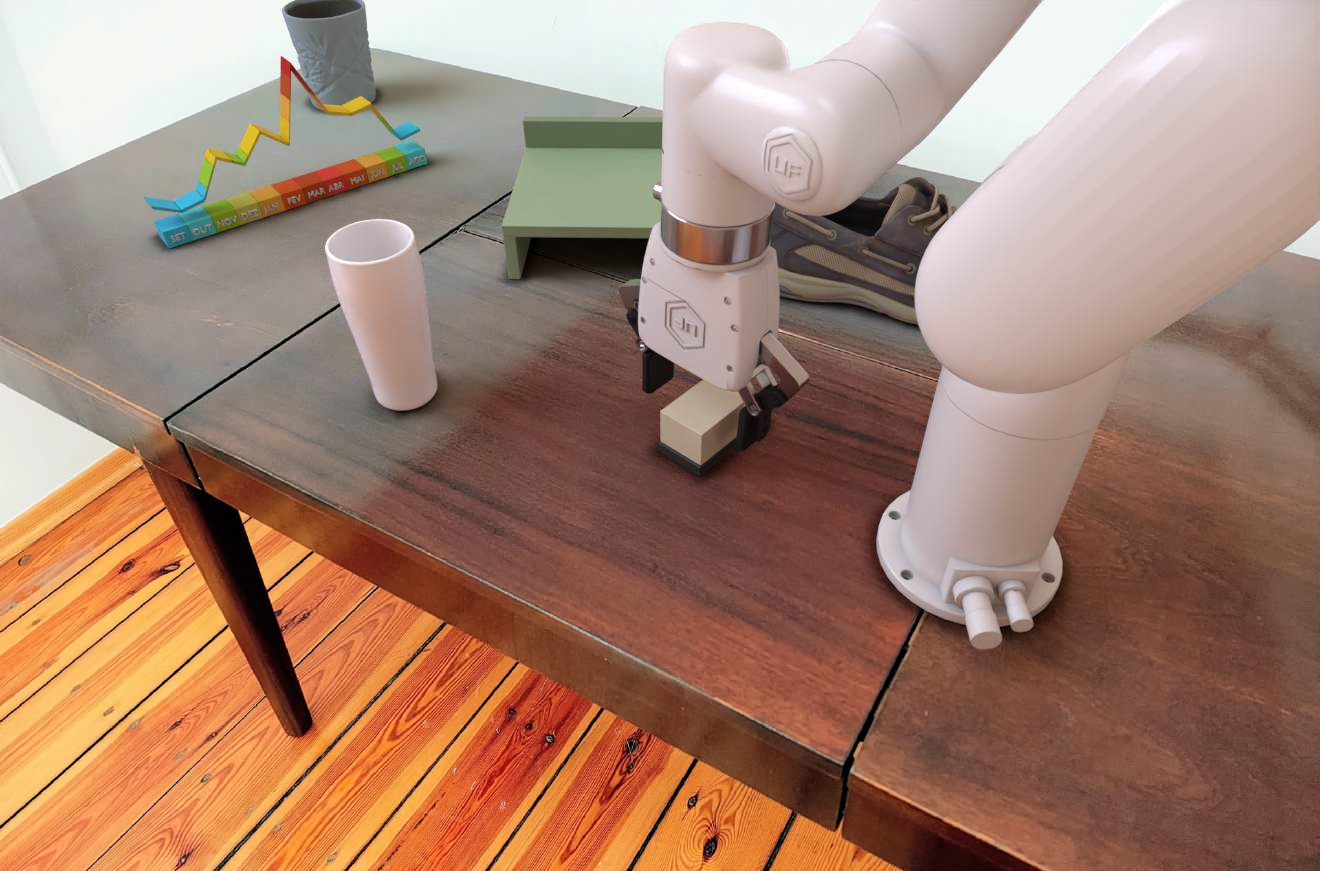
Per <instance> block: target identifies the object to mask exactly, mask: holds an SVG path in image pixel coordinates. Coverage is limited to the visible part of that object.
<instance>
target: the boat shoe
mask: <svg viewBox="0 0 1320 871" xmlns="http://www.w3.org/2000/svg"><path fill="white" fill-rule="evenodd" d="M957 210H958V208H957V206H955V205H952V204H951V201H950V198H949V197H948V195H947V194H945V193H940V189H939V187H938V185H937V184H935V183H932V182H929V180H927V179H926V178H925V177H922V176H915V177H912V178H909V179H907V180H905V181H903V182H902V183H900V184H899V185H897V186H896V187H894V188H893V189H891V190H889V192H888V193H887V194H886V195H885V196H884V197H881V198H876V197H875V198H874V197H868V196H863V195H861V196H860V197H859V198H858V199H856V200H855V201H854V202H853V203H851V204H850V205H848V206H847V207H845V208H844V209H842V210H840V211H837V212H835V213H832V214H829V215H823V216H810V215H803V214H800V213H797V212H794V211H791V210H789V209H787V208H785V207H783V206H781V205H779V204H778V203H776V202H775V207H774V216H773V224H772V233H771V241H770V246H771V247H772V248H774V249H775V250H776V255H777V263H778V273H779V293H780V297H782V298H787V299H792V300H797V301H804V302H813V303H841V304H849V305H853V306H858V307H862V308H866V309H868V310H870V311H871V310H872V311H874V312H877V313H880V314H885V315H888V316H889V317H891V318H892V319H895V320H899V321H901V322H904V323H907V324H914V325H917V326H919V324H918V321H917V317H916V310H915V284H916V277H917V273H918V269H919V266H920V263H921V260H922V257H923V255H924V253H925V251H926V249H927V247H928V245H929V243H930V242H931V240H932V239H933V237H934V236H935V235H936V233H937V232H938V231H939V229H940V228H941V227H942V226H943V225H944V224H945V223H946V222H947V220H948V219H949V218H950V217H951V216H952V215H953V214H954V213H955V212H956V211H957Z"/></svg>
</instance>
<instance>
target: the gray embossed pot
mask: <svg viewBox="0 0 1320 871" xmlns="http://www.w3.org/2000/svg"><path fill="white" fill-rule="evenodd" d="M281 14H282V17H283V19H284V20H283V21H284V23H285V25H286V28H287V30H288V34H289V37H290V39H291V43H292V46H293V47H294V49H295V51H296V54H297V61H298V64H299V68H300V71H301V74H302V76H303V79H304V81H305V82H306V83H307V85H308V86H309V87H310V89H311V90H312V91H313V92H314V94H315V95H316V96H317V98H318V99H319V100H320V102H321V103H322V104H326V105H340V106H342V105H343V104H345V103H348V102H350V101H352V100H354V99H356V98H358V97H360V96H362V97H363V98H365V99H366V100H367V101H369V102H370V103H371V104H372V103H373V102H374V101H375V99H376V95H377V92H376V85H375V77H374V71H373V66H372V57H371V56H372V53H371V47H370V40H369V31H368V19H367V11H366V4H365V2H364V0H291V1H289V2H288V3H286V4H284V6H282V9H281ZM308 96H309V99H310V103H311V104H312V106H313V107H314V108H316V109H317V110H320V111H323V110H322V109H321V108H319V107H318V105H317V104H316V103H315V101H314V100H313V99H312V97H311V96H310V95H309V94H308Z"/></svg>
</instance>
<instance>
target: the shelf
mask: <svg viewBox="0 0 1320 871" xmlns="http://www.w3.org/2000/svg"><path fill="white" fill-rule="evenodd" d="M522 125H523V134H524V143H525V148H524V152H523V156H522V159H521V162H520V165H519V168H518V172H517V175H516V178H515V182H514V185H513V188H512V192H511V194H510V198H509V201H508V204H507V207H506V210H505V213H504V216H503V221H502V224H501V230H502V238H503V245H504V253H505V261H506V268H507V275H508V279H509V280H521V279H522V274H523V270H524V267H525V263H526V259H527V256H528V252H529V248H530V243H531V240H532V238H578V239H579V238H582V239H583V238H584V239H585V238H588V239H649V238H650V235H651V232H652V229H653V227H654V226H655V225H656V224H657V223H658V222H660V221H661V203H660V201H659V200H657V199H655V198H654V197H653V190H654V187H655V185H656V184H657V183H658V182H659V181H661V173H662V127H663V116H662V117H661V116H660V117H658V116H656V117H655V116H654V117H653V116H651V117H650V116H644V117H643V116H642V117H641V116H638V117H637V116H524V117H523V119H522Z"/></svg>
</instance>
